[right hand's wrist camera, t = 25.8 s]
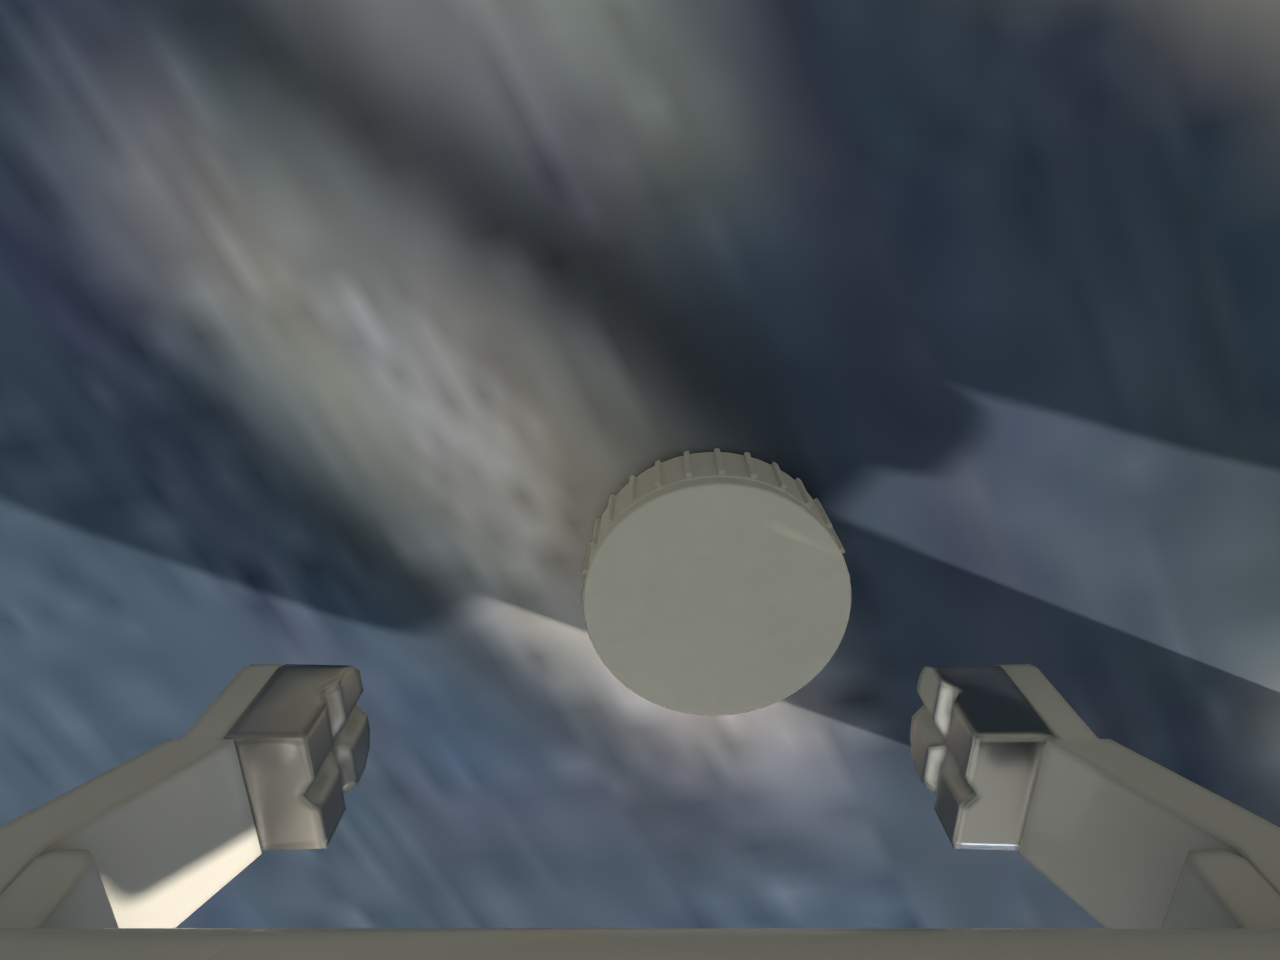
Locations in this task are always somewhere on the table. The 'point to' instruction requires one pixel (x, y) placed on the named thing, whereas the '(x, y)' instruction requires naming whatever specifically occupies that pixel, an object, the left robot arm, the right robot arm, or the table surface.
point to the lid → (715, 584)
